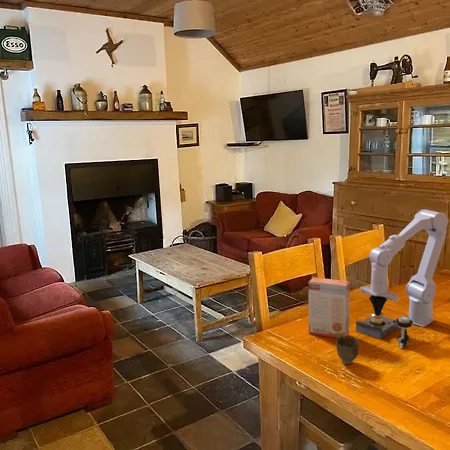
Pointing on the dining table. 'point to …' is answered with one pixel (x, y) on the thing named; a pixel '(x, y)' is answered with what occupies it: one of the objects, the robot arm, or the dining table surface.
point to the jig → (376, 327)
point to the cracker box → (329, 307)
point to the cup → (347, 349)
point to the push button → (403, 330)
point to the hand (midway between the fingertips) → (378, 314)
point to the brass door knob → (377, 319)
